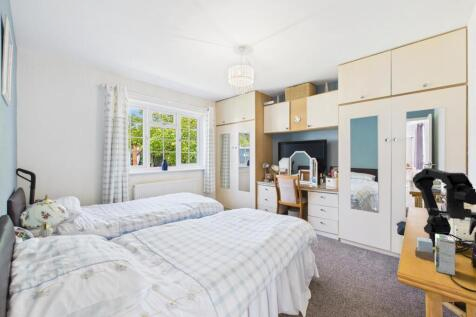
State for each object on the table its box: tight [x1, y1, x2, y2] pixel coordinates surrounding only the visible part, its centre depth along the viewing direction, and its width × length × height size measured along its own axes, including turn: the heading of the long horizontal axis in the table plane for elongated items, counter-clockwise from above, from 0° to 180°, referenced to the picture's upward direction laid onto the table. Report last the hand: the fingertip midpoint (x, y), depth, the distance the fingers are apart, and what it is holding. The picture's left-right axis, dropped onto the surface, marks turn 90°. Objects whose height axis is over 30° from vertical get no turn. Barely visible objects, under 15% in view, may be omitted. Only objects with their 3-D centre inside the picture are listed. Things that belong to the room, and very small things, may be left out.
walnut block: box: [414, 246, 435, 263], centre depth 100 cm, size 7×7×4 cm
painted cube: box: [416, 236, 434, 253], centre depth 100 cm, size 5×5×5 cm
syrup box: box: [434, 234, 456, 276], centre depth 88 cm, size 6×6×14 cm
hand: (455, 232), depth 97 cm, fingers open, 9 cm apart
